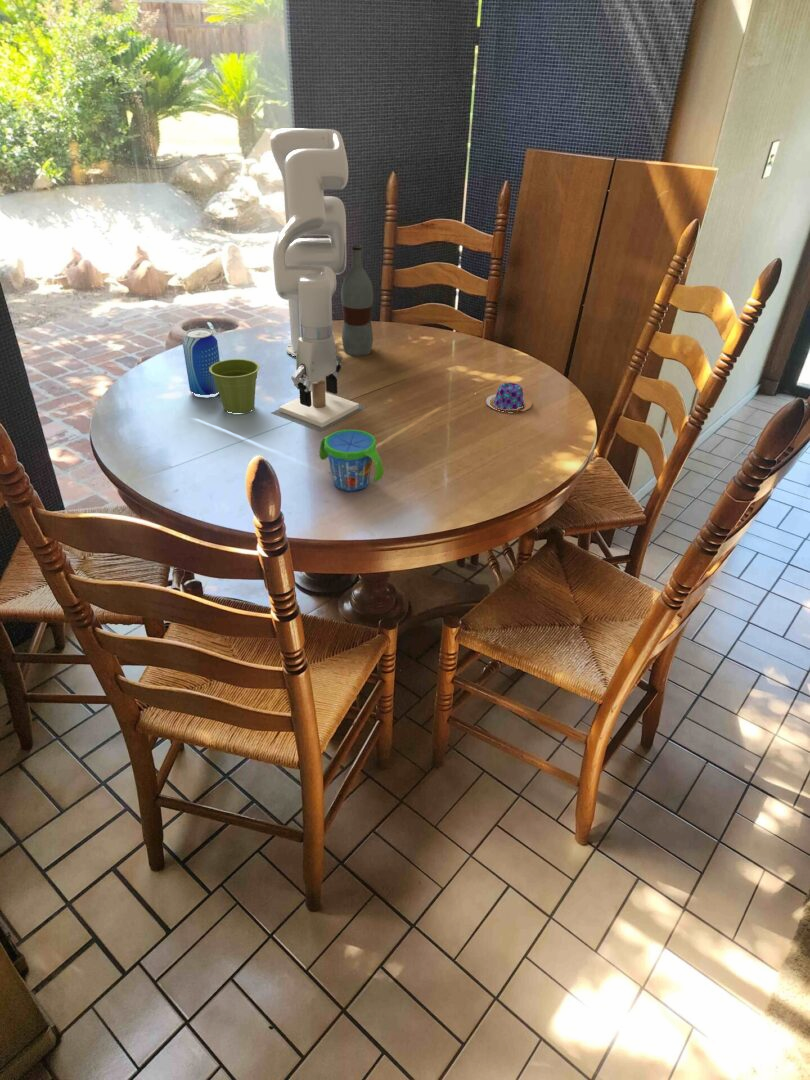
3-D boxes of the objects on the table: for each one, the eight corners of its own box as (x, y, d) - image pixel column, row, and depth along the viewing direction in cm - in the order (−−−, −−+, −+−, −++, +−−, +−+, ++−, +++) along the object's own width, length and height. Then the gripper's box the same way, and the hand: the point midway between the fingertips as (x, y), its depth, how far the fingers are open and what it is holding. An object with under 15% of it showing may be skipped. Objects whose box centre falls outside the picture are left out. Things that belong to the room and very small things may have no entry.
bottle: (378, 349, 212) (380, 245, 195) (361, 359, 206) (361, 251, 189) (353, 343, 216) (352, 240, 199) (335, 351, 210) (333, 246, 192)
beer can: (205, 402, 178) (196, 341, 169) (183, 393, 182) (173, 332, 173) (230, 392, 184) (223, 332, 175) (209, 383, 188) (201, 324, 179)
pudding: (479, 409, 181) (481, 390, 178) (494, 392, 190) (496, 374, 187) (524, 418, 178) (527, 399, 175) (537, 401, 187) (539, 382, 184)
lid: (316, 393, 184) (315, 367, 180) (358, 408, 177) (358, 381, 173) (279, 411, 174) (277, 384, 170) (322, 427, 168) (321, 399, 164)
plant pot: (271, 404, 179) (267, 361, 172) (250, 424, 170) (245, 379, 163) (228, 397, 181) (223, 355, 175) (206, 416, 172) (199, 373, 165)
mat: (319, 392, 186) (319, 390, 186) (366, 408, 179) (366, 406, 178) (271, 415, 174) (270, 412, 173) (320, 433, 167) (319, 431, 166)
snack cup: (307, 478, 150) (305, 435, 144) (344, 461, 156) (343, 420, 150) (358, 507, 141) (358, 463, 135) (394, 488, 148) (395, 445, 142)
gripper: (328, 318, 172) (330, 384, 182) (278, 336, 160) (283, 406, 170) (352, 324, 168) (352, 391, 178) (303, 344, 157) (306, 414, 167)
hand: (319, 398), depth 174 cm, fingers open, 9 cm apart
